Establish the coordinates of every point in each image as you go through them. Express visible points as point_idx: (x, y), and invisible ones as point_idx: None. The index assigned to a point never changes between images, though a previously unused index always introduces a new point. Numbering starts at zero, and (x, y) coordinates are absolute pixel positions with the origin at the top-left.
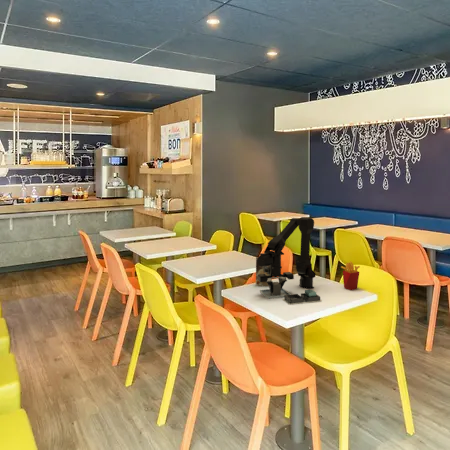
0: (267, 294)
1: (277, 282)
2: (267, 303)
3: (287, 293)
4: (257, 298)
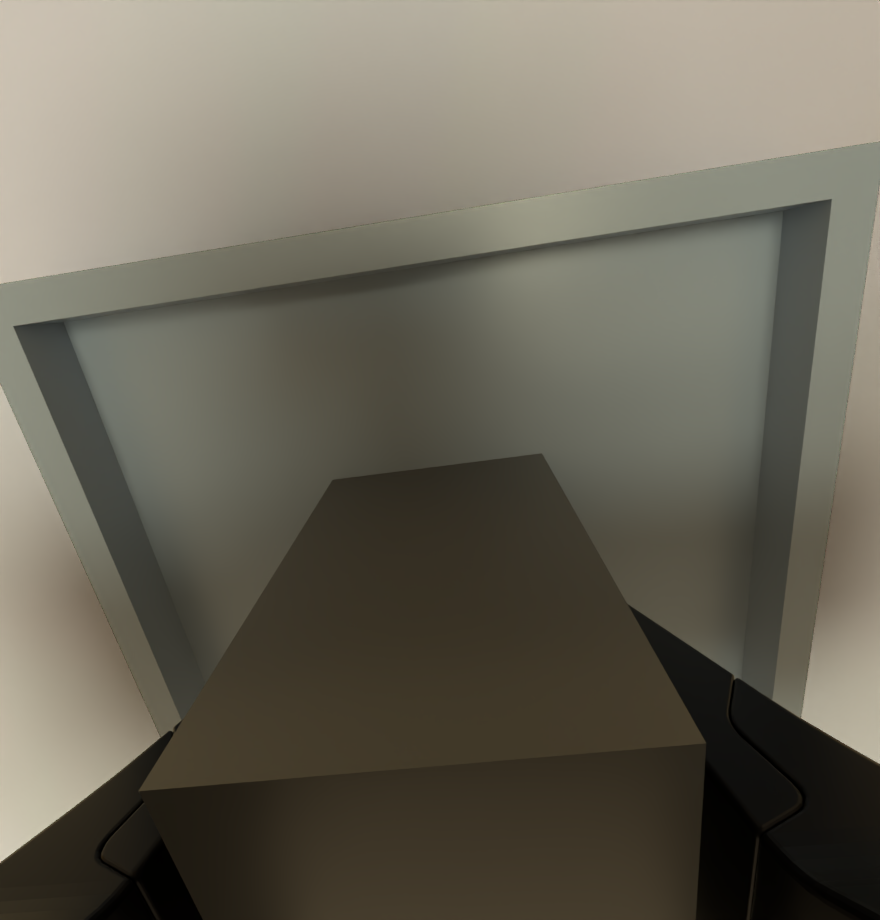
0: (244, 569)
1: (636, 878)
2: None
3: (759, 639)
4: (34, 688)
